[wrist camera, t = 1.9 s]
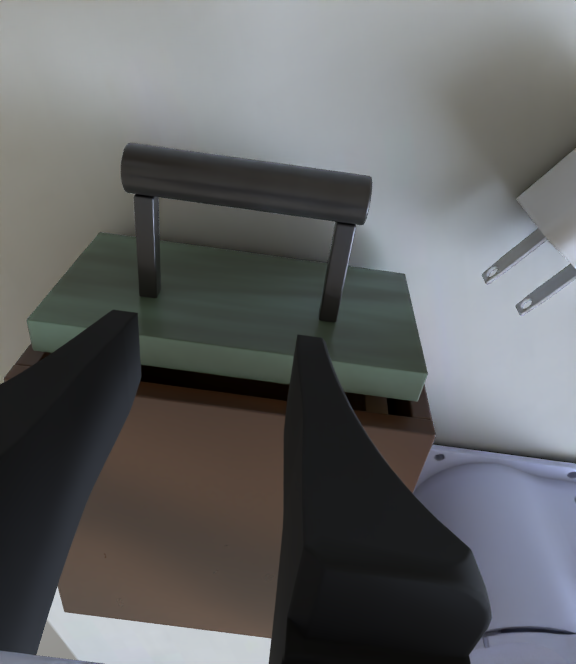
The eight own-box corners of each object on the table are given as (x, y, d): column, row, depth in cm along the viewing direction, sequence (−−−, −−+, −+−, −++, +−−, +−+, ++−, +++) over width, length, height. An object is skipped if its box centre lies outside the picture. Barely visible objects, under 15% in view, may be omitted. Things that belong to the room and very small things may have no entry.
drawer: (86, 99, 18) (-9, 156, 13) (440, 149, 18) (482, 224, 13) (122, 457, 29) (77, 565, 24) (344, 487, 29) (347, 599, 24)
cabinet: (96, 257, 23) (2, 378, 16) (407, 300, 23) (437, 435, 16) (119, 476, 31) (64, 612, 24) (346, 505, 31) (350, 648, 25)
